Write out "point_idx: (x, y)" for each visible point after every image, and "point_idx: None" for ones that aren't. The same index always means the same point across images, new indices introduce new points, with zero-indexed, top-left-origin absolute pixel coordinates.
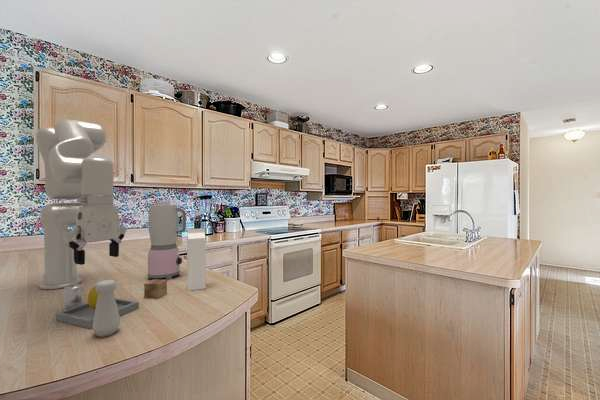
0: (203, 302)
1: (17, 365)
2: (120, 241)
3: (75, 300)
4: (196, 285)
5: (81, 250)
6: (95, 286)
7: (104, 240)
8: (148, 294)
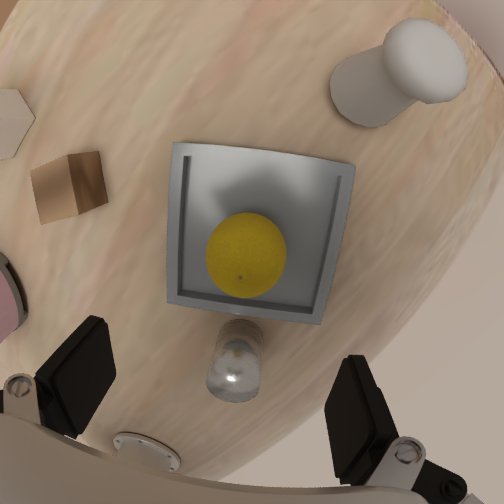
0: (105, 2)
1: (487, 179)
2: (11, 382)
3: (249, 342)
4: (18, 104)
5: (389, 439)
6: (256, 281)
7: (170, 473)
8: (97, 189)
